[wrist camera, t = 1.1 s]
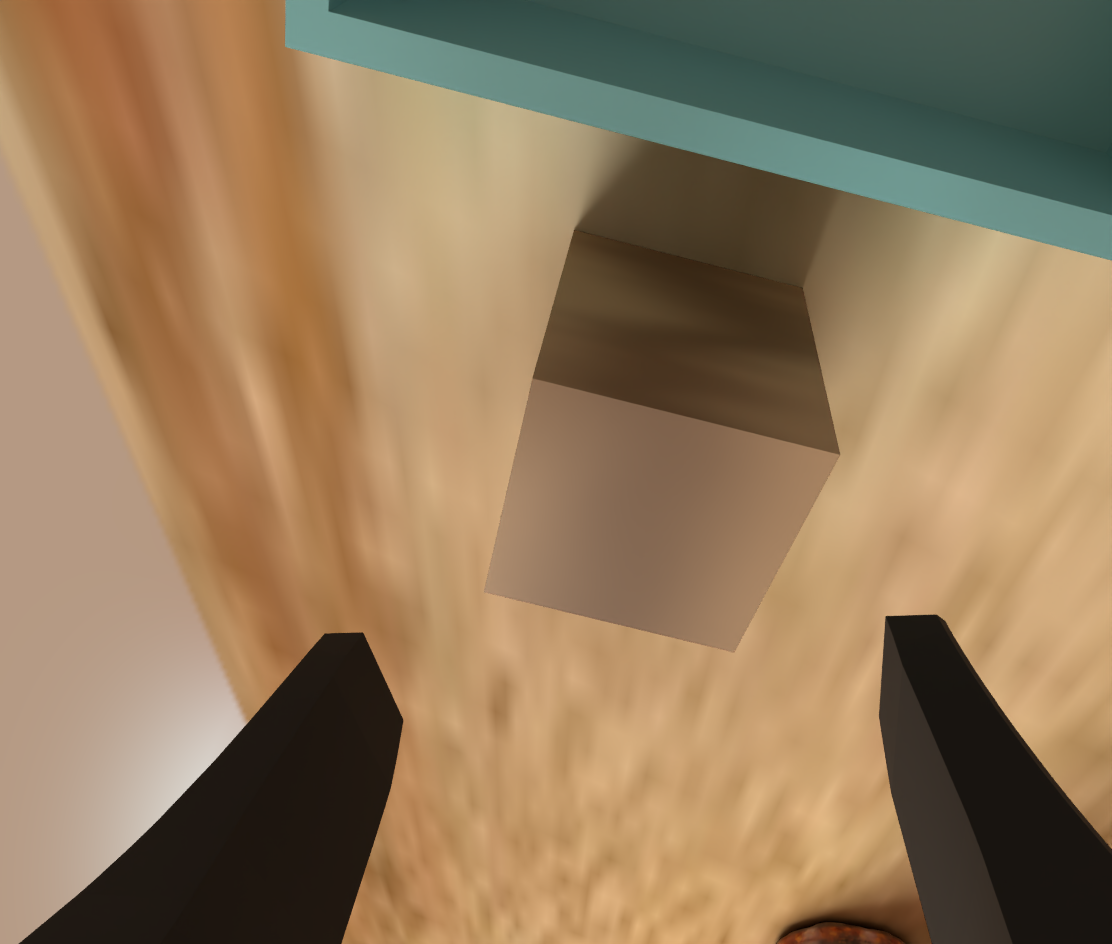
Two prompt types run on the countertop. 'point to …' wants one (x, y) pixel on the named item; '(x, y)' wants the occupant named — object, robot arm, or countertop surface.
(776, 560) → the walnut block
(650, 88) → the teal bin
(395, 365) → the countertop surface
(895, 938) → the sauce bottle
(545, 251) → the countertop surface
